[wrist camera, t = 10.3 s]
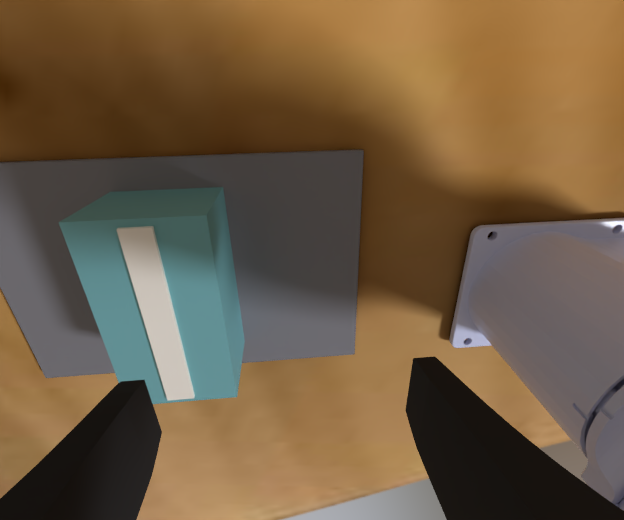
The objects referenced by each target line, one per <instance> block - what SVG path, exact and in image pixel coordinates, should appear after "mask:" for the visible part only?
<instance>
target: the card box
mask: <svg viewBox="0 0 624 520" xmlns="http://www.w3.org/2000/svg"><path fill="white" fill-rule="evenodd" d="M59 225H60V228H61V230H62V233H63V236H64V238H65V241H66V244H67V246H68V249H69V252H70V254H71V257H72V260H73V262H74V265H75V268H76V270H77V273H78V275H79V278H80V281H81V283H82V286H83V289H84V291H85V294H86V297H87V299H88V302H89V305H90V307H91V310H92V313H93V315H94V318H95V321H96V323H97V326H98V329H99V331H100V334H101V337H102V339H103V342H104V344H105V347H106V350H107V352H108V355H109V358H110V360H111V363H112V366H113V368H114V371H115V374H116V376H117V379H118V382H119V383H120V382H121V381H133V380H145V383H146V386H147V389H148V392H149V395H150V398H151V401H152V404H159V403H171V402H183V401H195V400H206V399H218V398H230V397H237V393H238V386H239V379H240V372H241V364H242V357H243V350H244V343H245V340H244V333H243V326H242V319H241V311H240V304H239V297H238V290H237V283H236V276H235V269H234V261H233V254H232V247H231V240H230V233H229V226H228V219H227V211H226V204H225V197H224V190H223V187H213V188H189V189H166V190H142V191H119V192H109V193H108V194H106V195H104V196H102V197H101V198H99V199H97V200H96V201H94V202H92V203H91V204H89V205H87V206H86V207H84V208H82V209H80V210H79V211H77V212H75V213H74V214H72V215H70V216H69V217H67V218H65V219H64V220H62V221H60V222H59Z"/></svg>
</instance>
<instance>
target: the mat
mask: <svg viewBox="0 0 624 520" xmlns="http://www.w3.org/2000/svg"><path fill="white" fill-rule="evenodd" d="M363 156H364V151H363V150H362V149H359V150H330V151H302V152H274V153H245V154H217V155H188V156H160V157H132V158H103V159H75V160H46V161H18V162H0V288H1V290H2V292H3V294H4V296H5V298H6V300H7V302H8V304H9V306H10V308H11V310H12V312H13V314H14V316H15V318H16V320H17V322H18V324H19V325H20V327H21V329H22V331H23V333H24V335H25V337H26V339H27V341H28V343H29V345H30V347H31V349H32V351H33V353H34V355H35V357H36V359H37V361H38V363H39V365H40V367H41V369H42V371H43V373H44V375H45V377H46V378H53V377H66V376H79V375H92V374H105V373H115V371H114V368H113V366H112V363H111V360H110V358H109V355H108V352H107V350H106V347H105V344H104V342H103V339H102V337H101V334H100V331H99V329H98V326H97V323H96V321H95V318H94V315H93V313H92V310H91V307H90V305H89V302H88V299H87V297H86V294H85V291H84V289H83V286H82V283H81V281H80V278H79V275H78V273H77V270H76V268H75V265H74V262H73V260H72V257H71V254H70V252H69V249H68V246H67V244H66V241H65V238H64V236H63V233H62V230H61V228H60V225H59V222H60V221H62V220H64V219H65V218H67V217H69V216H70V215H72V214H74V213H75V212H77V211H79V210H80V209H82V208H84V207H86V206H87V205H89V204H91V203H92V202H94V201H96V200H97V199H99V198H101V197H102V196H104V195H106V194H108V193H109V192H119V191H142V190H166V189H189V188H213V187H223V190H224V197H225V204H226V211H227V219H228V226H229V233H230V240H231V247H232V254H233V261H234V269H235V276H236V283H237V290H238V297H239V304H240V311H241V319H242V326H243V333H244V340H245V343H244V350H243V357H242V363H247V362H260V361H273V360H286V359H299V358H312V357H325V356H338V355H351V354H354V352H355V331H356V309H357V287H358V265H359V243H360V221H361V200H362V178H363Z"/></svg>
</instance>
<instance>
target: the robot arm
mask: <svg viewBox="0 0 624 520" xmlns="http://www.w3.org/2000/svg"><path fill="white" fill-rule="evenodd" d="M614 227H615V228H614ZM613 228H614V229H613ZM490 232H493V234H492V236H490V237H488V234H489V233H490ZM467 338H468V339H467ZM465 339H467V340H465ZM449 341H450V343H451V344H452V346H453V347H455V348H463V347H476V346H489V345H492V346H493V347H494V348H495V349H496V351H497V352H498V353H499V354H500V355H501V357H502V358H503V359H504V360H505V361H506V363H507V364H508V365H509V366H510V367H511V368H512V370H513V371H514V372H515V373H516V374H517V376H518V377H519V378H520V379H521V380H522V382H523V383H524V384H525V385H526V386H527V387H528V389H529V390H530V391H531V392H532V393H533V395H534V396H535V397H536V398H537V399H538V401H539V402H540V403H541V404H542V405H543V406H544V408H545V409H546V410H547V411H548V412H549V414H550V415H551V416H552V417H553V418H554V420H555V421H556V422H557V423H558V424H559V426H560V427H561V428H562V429H563V430H564V431H565V433H566V434H567V435H568V436H569V437H570V439H571V440H572V441H573V442H574V443H575V445H576V446H577V447H578V448H579V449H580V450H581V452H582V453H583V454H584V455H585V456H586V457H587V459H588V464H587V466H586V468H585V470H584V471H583V473H582V474H581V477H582V478H583V480H584V481H585V482H586V484H585V483H584V482H582V481H581V480H580V479H578V478H577V477H575V476H574V475H573V474H571V473H570V472H569V471H567V470H566V469H565V468H563V467H562V466H560V465H559V464H558V463H557V462H555V461H554V460H553V459H551V458H550V457H549V456H548V455H547V454H545V453H544V452H543V451H542V450H540V449H539V448H538V447H537V446H535V445H534V444H533V443H532V442H530V441H529V440H528V439H527V438H525V437H524V436H523V435H522V434H521V433H519V432H518V431H517V430H516V429H515V428H514V427H512V426H511V425H510V424H509V423H508V422H506V421H505V420H504V419H503V418H502V417H501V416H500V415H498V414H497V413H496V412H495V411H494V410H493V409H492V408H490V407H489V406H488V405H487V404H486V403H485V402H484V401H483V400H481V399H480V398H479V397H478V396H477V395H476V394H475V393H474V392H473V391H472V390H471V389H469V388H468V387H467V386H466V385H465V384H464V383H463V382H462V381H461V380H460V379H459V378H458V377H456V376H455V375H454V374H453V373H452V372H451V371H450V370H449V369H448V368H447V367H446V366H445V365H443V364H442V363H441V362H440V361H439V360H438V359H437V358H436V357H424V358H413V364H412V371H411V378H410V384H409V391H408V398H407V405H406V413H407V417H408V420H409V424H410V427H411V431H412V434H413V437H414V440H415V443H416V447H417V449H418V452H419V454H420V457H421V459H422V462H423V464H424V466H425V469H426V471H427V474H428V476H429V478H430V481H431V483H432V485H433V488H434V490H435V493H436V495H437V497H438V500H439V502H440V504H441V507H442V509H443V512H444V514H445V516H446V519H447V520H624V218H610V219H591V220H571V221H552V222H533V223H514V224H495V225H480V226H477V227H476V228H474V229H473V231H472V232H471V235H470V240H469V245H468V250H467V255H466V260H465V265H464V270H463V275H462V280H461V284H460V289H459V294H458V299H457V304H456V309H455V314H454V319H453V324H452V329H451V334H450V339H449ZM161 433H162V431H161V428H160V425H159V422H158V419H157V416H156V413H155V410H154V407H153V404H152V401H151V398H150V395H149V392H148V389H147V386H146V383H145V380H133V381H121V382H120V383H118V384H117V385H116V386H115V387H114V388H113V389H112V390H111V391H110V392H109V393H108V394H107V395H106V396H105V397H104V398H103V399H102V400H101V401H100V402H99V403H98V404H97V406H96V407H95V408H94V409H93V410H92V411H91V412H90V413H89V414H88V415H87V416H86V417H85V418H84V419H83V420H82V421H81V422H80V423H79V424H78V425H77V426H76V427H75V428H74V429H73V430H72V431H71V432H70V433H69V434H68V435H67V436H66V437H65V438H64V439H63V440H62V441H61V442H60V443H59V444H58V445H57V446H56V447H55V448H54V449H53V450H52V451H51V452H50V453H49V454H48V455H47V456H46V457H45V458H44V459H42V460H41V461H40V462H39V463H38V464H37V465H36V466H35V467H34V468H33V469H32V470H31V471H30V472H29V473H28V474H27V475H25V476H24V477H23V478H22V479H21V480H20V481H19V482H18V483H17V484H16V485H15V486H14V487H13V488H11V489H10V490H9V491H8V492H7V493H6V494H5V495H4V496H3V497H2V498H1V499H0V520H136V519H137V516H138V513H139V510H140V507H141V505H142V502H143V499H144V496H145V493H146V490H147V487H148V484H149V482H150V479H151V476H152V472H153V468H154V464H155V460H156V456H157V451H158V447H159V442H160V438H161Z"/></svg>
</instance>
